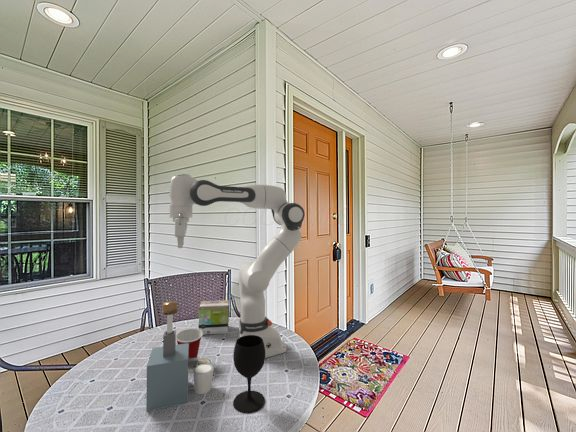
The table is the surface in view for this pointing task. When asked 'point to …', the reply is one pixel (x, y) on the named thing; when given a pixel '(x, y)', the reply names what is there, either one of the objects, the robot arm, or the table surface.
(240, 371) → the wine glass
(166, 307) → the pump plunger
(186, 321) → the table surface
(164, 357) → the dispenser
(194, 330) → the plastic cup
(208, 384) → the shot glass
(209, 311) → the tea box
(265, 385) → the table surface
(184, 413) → the table surface
